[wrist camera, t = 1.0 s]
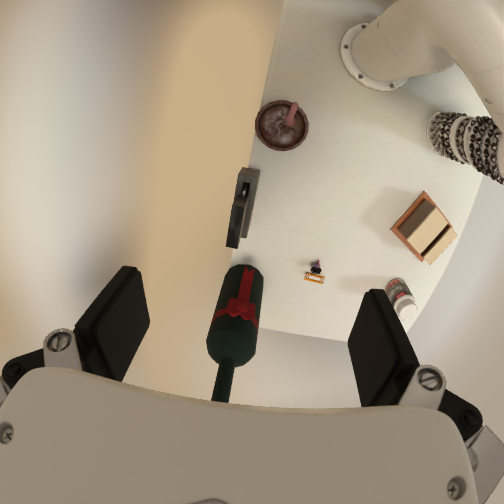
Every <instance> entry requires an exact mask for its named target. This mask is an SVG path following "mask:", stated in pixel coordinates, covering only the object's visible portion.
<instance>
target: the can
mask: <svg viewBox="0 0 504 504" xmlns="http://www.w3.org/2000/svg"><path fill="white" fill-rule="evenodd" d="M308 124H309V123H308V120H307V116H306V114H305V113H304V112H303V110H302V109H301V108H300V107H299V106H298V103H297V102H294V103H292V102H289V101H285V100H277V101H273V102H270V103H268V104H267V105H265V106H263V107H262V109H261V110H260V111H259V112H258V114H257V117H256V120H255V130H256V133H257V136H258V138H259V139H260V140H261V142H262V143H263V144H265V145H266V146H267V147H269V148H271V149H274V150H276V151H287V150H291V149H294V148H296V147H297V146H299V145H300V144H301V143H302V142H303V141H304V140H305V138H306V135H307V133H308Z"/></svg>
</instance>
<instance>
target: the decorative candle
mask: <svg viewBox="0 0 504 504" xmlns="http://www.w3.org/2000/svg"><path fill="white" fill-rule="evenodd" d="M426 131H427V139H428V141H429V144H430V146H431V148H432V149H433V150H434V151H435V152H436V153H438V154H440V155H441V156H445V157H446V158H449V157H450V158H451V160H454V159H455V161H457V162H461V164H465V163H466V164H469V165H472V167H473V168H475V169H477V171H478V172H482V173H483V174H485V175H487V176H490V177H491V178H492V179H493V180H497V182H499V183H500V184H504V133H503V132H502V131H501V130H500V129H499V128H498V127H497V125H496V124H495V122H494V121H493V119H492V118H491V119H490V118H489V117H487V116H486V117H485V116H483V117H479V116H477V117H475V118H474V117H470V116H467V115H466V114H462V115H461V113H457V114H456V113H455V112H437V113H436V114H434V115H432V117H431V118H430V120H429V121H428V125H427V130H426ZM494 175H495V176H494Z"/></svg>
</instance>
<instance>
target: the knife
mask: <svg viewBox="0 0 504 504" xmlns="http://www.w3.org/2000/svg"><path fill="white" fill-rule="evenodd" d="M249 184H250V183H246V186H245V188H244V190H243V194H237V197H236V199H235V201H234V203H233V205H232V210H231V216H230V223H229V229H228V236H227V242H226V247H231V248H235V249H238V245H239V242H240V238H241V235H242V230H243V225H244V220H245V214H246V209H247V204H248V198H249V196H247V195H248V189H249Z"/></svg>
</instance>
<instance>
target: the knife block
mask: <svg viewBox="0 0 504 504" xmlns="http://www.w3.org/2000/svg"><path fill="white" fill-rule="evenodd" d="M259 175H260V170H254V169H250V168H244V167H243V168H242V169H241V171H240V172H239V174H238V179H237V185H236V191H235V197H234V201H235V199H236V197H237V194H243V190H244V188H245V184H246V183H250V187H249V193H248V196H249V198H248V204H247V209H246V214H245V220H244V225H243V230H242V235H241V237H242V238H247V234H248V230H249V225H250V220H251V215H252V210H253V205H254V200H255V195H256V190H257V185H258V180H259Z"/></svg>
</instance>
